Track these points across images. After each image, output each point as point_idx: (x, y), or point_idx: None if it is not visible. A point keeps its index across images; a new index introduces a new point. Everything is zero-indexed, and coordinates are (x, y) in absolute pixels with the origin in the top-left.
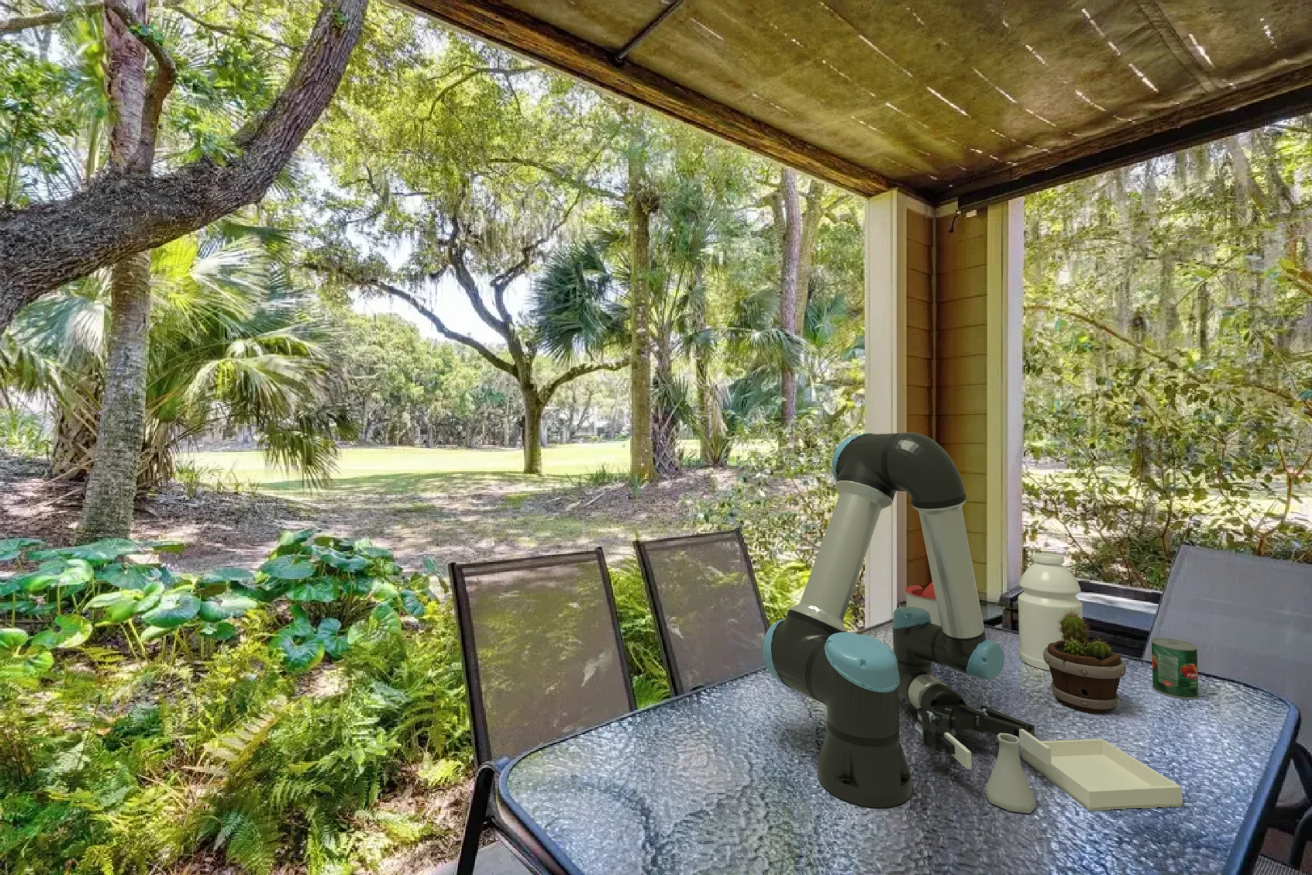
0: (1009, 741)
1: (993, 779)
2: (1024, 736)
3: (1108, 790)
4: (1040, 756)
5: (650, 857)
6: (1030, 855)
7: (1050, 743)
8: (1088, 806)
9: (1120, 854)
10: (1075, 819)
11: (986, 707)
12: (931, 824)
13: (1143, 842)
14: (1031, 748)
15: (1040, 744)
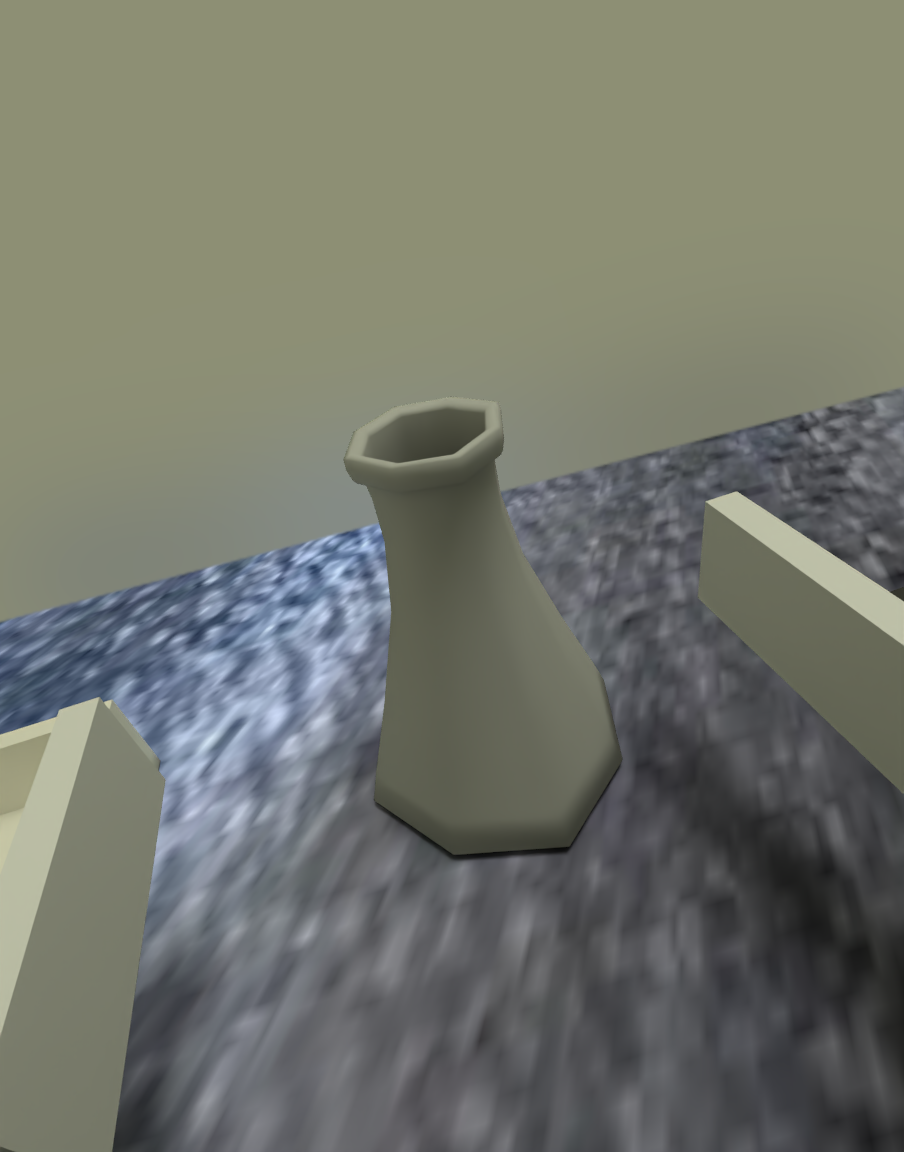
0: (408, 507)
1: (569, 644)
2: (42, 1011)
3: (1, 736)
4: (140, 824)
5: None
6: (523, 504)
7: None
8: (151, 753)
9: (262, 575)
10: (271, 689)
11: None
12: (837, 516)
13: (138, 639)
14: (116, 920)
15: (86, 753)
